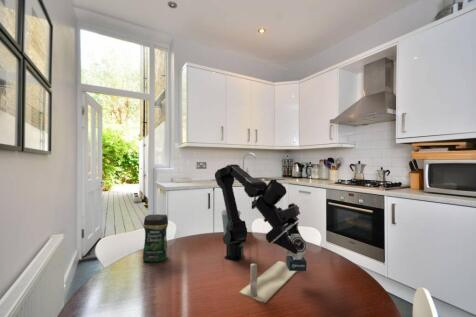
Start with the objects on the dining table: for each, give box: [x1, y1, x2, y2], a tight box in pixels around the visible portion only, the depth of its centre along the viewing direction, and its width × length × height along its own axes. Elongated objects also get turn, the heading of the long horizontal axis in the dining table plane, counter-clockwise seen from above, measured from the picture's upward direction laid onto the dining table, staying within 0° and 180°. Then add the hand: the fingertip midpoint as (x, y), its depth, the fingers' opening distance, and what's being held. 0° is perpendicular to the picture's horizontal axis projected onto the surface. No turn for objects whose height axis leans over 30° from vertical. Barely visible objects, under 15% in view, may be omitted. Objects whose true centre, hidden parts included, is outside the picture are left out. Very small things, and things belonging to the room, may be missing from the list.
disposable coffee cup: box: [220, 208, 242, 236], centre depth 128 cm, size 11×11×15 cm
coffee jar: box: [142, 213, 169, 263], centre depth 98 cm, size 10×8×19 cm
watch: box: [285, 233, 308, 272], centre depth 77 cm, size 6×8×11 cm
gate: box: [239, 249, 298, 304], centre depth 81 cm, size 9×28×10 cm, turn 145°
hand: (300, 248), depth 77 cm, fingers closed on watch, 8 cm apart
